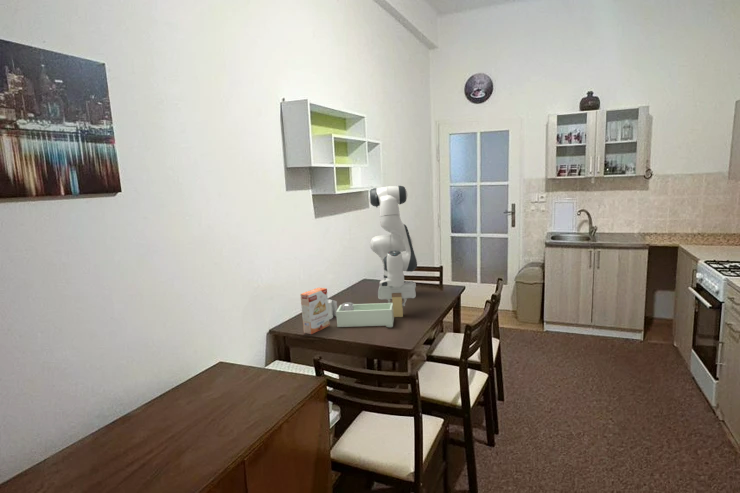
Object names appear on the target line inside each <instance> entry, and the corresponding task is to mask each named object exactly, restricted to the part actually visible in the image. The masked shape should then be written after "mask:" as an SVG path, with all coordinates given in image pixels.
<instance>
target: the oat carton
mask: <svg viewBox="0 0 740 493" xmlns="http://www.w3.org/2000/svg"><path fill="white" fill-rule="evenodd" d="M391 301H392V302H391V303H393V313H394V318H403V317H404V309H403V307H404V306H402V303H403V299H402V295H401V293H392V299H391Z"/></svg>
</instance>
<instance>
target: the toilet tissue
mask: <svg viewBox="0 0 740 493" xmlns="http://www.w3.org/2000/svg"><path fill="white" fill-rule="evenodd" d="M337 309H338V301H337V300H334V299H328V310H329V321H330V320H332V319H333V318H334V317H336V311H337Z"/></svg>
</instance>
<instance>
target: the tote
mask: <svg viewBox="0 0 740 493" xmlns="http://www.w3.org/2000/svg"><path fill="white" fill-rule="evenodd" d="M353 307H354V311H342V304H340V305H339V306H338V307H337V311H336V316H335V317H336V326H337V328H349V327H351V328H354V327H376V326H377V327H381V326H382V327H383V326H385V327H386V328H393V327H394V322H395V317H394V313H393V303H392V302H391V303H389V302H380V303H379V302H377V303H374V302H373V303H353Z"/></svg>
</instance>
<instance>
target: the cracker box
mask: <svg viewBox="0 0 740 493" xmlns="http://www.w3.org/2000/svg"><path fill="white" fill-rule="evenodd" d="M300 304H301V315H302V317H301V318H302V328H303V335H305V334H308V335H309V334H310V335H313V334H316V333H317V332H320V331H322V330H323V329H326V328H327V327H328V328H329V327H330V320H329V310H328V288H325V287H317V288H314V289H311V290H308V291H305V292H303V293H300Z"/></svg>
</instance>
